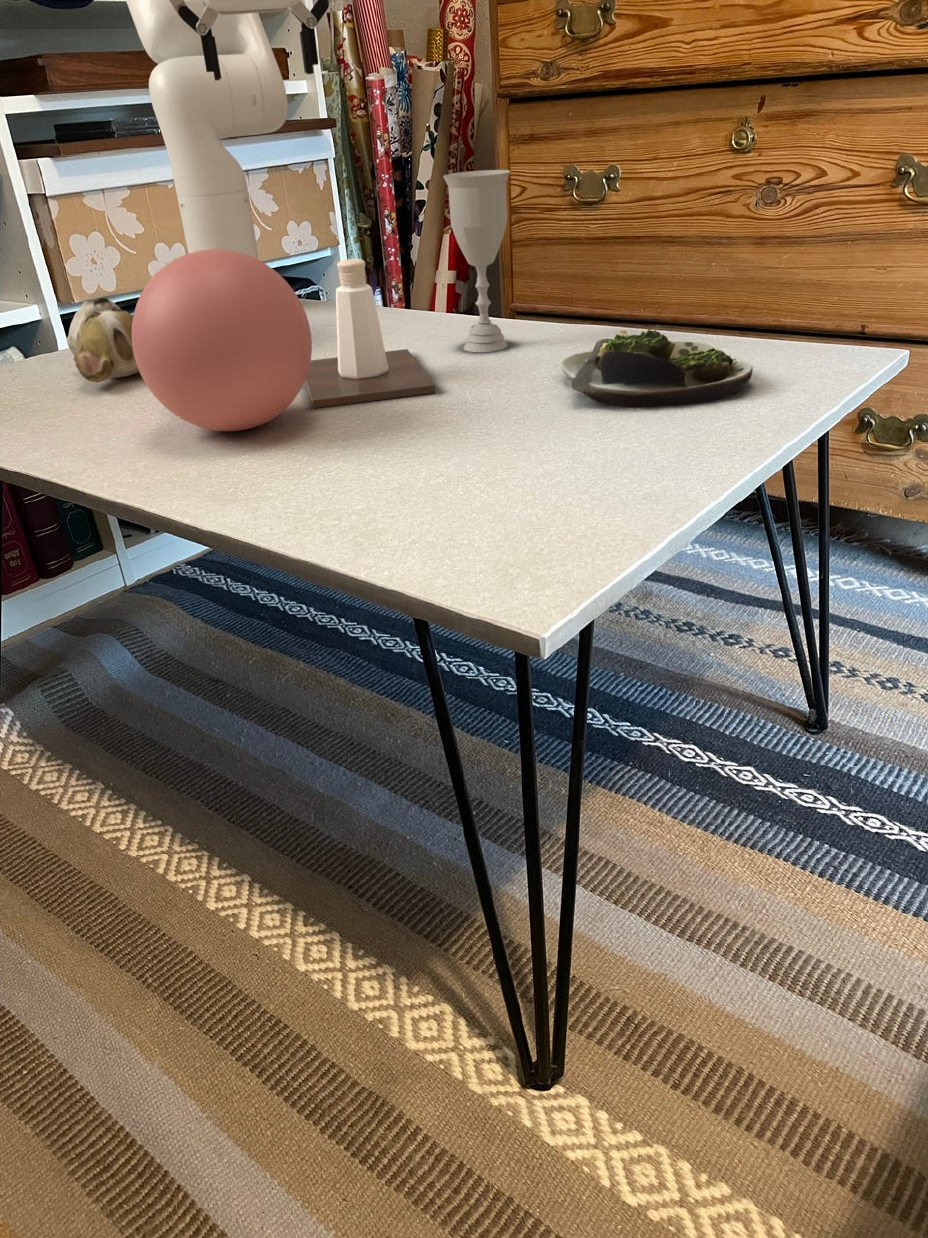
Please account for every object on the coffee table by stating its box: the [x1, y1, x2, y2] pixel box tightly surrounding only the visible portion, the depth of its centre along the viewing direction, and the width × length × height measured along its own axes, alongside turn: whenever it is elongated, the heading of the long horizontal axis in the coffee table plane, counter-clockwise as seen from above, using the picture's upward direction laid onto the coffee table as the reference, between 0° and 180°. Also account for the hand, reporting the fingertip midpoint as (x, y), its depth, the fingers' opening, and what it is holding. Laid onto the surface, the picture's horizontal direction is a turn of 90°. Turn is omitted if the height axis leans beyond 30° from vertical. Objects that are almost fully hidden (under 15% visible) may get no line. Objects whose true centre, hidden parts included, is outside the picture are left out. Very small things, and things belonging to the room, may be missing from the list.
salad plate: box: [560, 328, 753, 409], centre depth 92 cm, size 19×18×5 cm
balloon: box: [132, 249, 313, 432], centre depth 86 cm, size 15×20×15 cm
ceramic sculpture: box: [66, 297, 140, 383], centre depth 106 cm, size 11×9×15 cm
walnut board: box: [305, 348, 436, 409], centre depth 99 cm, size 16×12×1 cm
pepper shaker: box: [335, 258, 389, 379], centre depth 96 cm, size 5×5×11 cm
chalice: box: [442, 169, 511, 353], centre depth 104 cm, size 7×7×18 cm
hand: (264, 76), depth 101 cm, fingers open, 9 cm apart
